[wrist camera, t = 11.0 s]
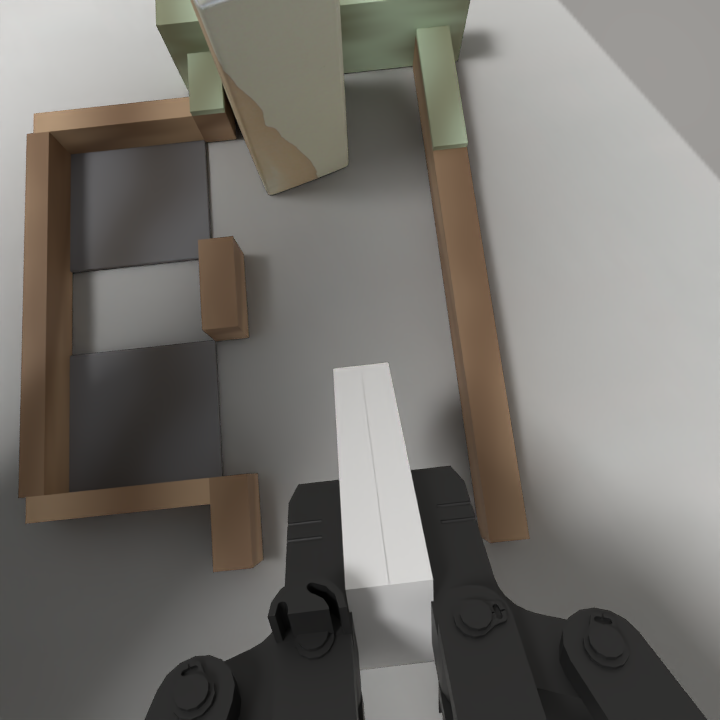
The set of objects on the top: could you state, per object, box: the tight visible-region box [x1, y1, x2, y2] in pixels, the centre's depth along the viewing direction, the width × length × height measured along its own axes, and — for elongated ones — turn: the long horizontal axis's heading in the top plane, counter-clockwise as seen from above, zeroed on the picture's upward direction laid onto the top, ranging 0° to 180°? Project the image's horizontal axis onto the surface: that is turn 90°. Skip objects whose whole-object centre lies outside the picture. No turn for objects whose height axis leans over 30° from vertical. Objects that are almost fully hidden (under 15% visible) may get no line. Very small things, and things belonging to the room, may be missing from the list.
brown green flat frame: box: [18, 0, 530, 572], centre depth 23 cm, size 20×24×4 cm
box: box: [190, 0, 349, 195], centre depth 21 cm, size 5×4×11 cm
